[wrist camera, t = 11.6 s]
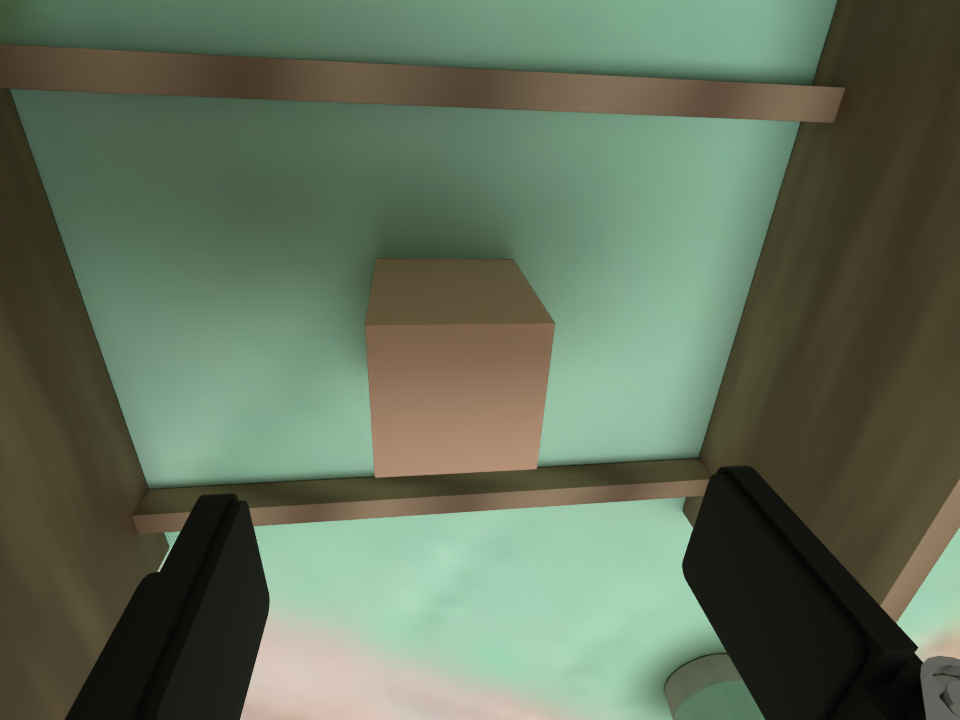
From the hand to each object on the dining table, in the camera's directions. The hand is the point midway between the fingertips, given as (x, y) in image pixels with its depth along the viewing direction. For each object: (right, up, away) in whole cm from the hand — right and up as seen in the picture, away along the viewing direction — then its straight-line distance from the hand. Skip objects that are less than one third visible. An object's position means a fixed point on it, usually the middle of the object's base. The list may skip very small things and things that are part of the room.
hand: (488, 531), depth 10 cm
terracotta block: (-2, +5, +9) cm, 11 cm away
